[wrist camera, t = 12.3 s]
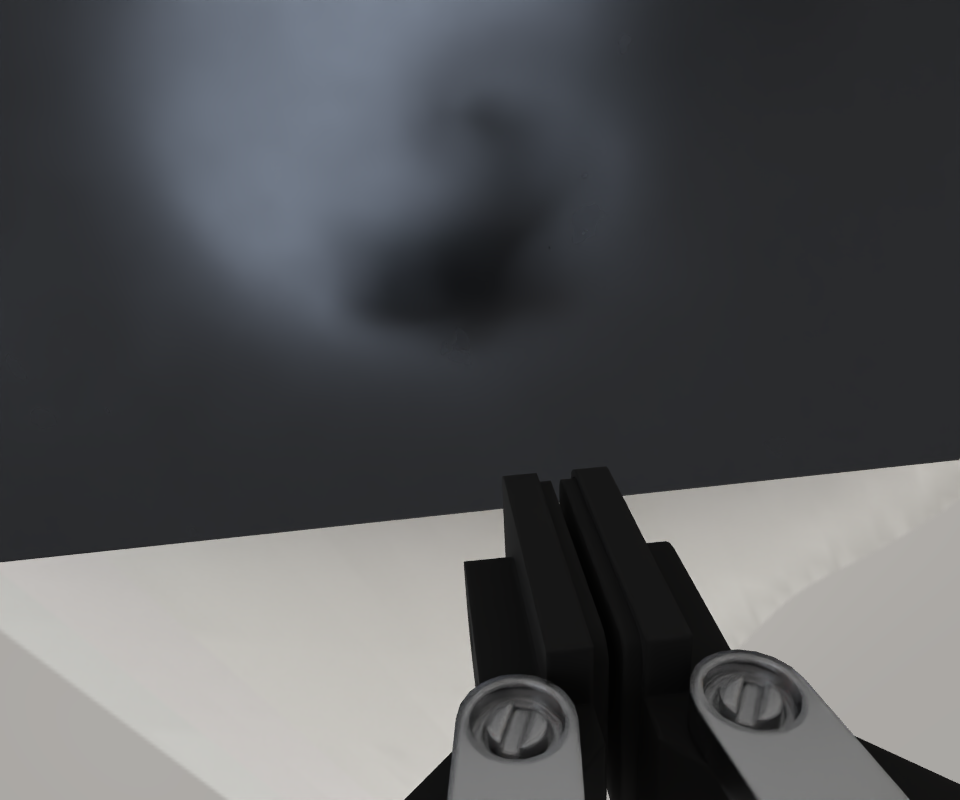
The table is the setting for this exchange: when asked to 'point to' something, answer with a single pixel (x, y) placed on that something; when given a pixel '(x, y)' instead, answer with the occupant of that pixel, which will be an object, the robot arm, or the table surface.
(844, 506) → the table surface
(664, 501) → the table surface
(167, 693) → the table surface
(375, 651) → the table surface
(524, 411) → the screen
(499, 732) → the robot arm
